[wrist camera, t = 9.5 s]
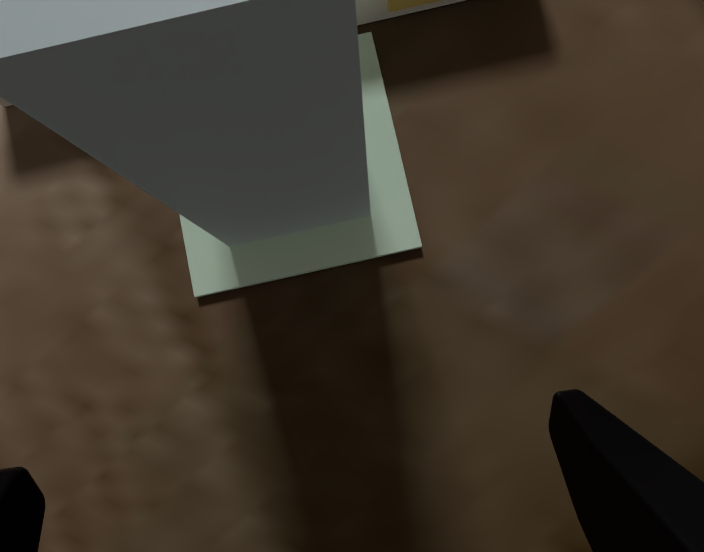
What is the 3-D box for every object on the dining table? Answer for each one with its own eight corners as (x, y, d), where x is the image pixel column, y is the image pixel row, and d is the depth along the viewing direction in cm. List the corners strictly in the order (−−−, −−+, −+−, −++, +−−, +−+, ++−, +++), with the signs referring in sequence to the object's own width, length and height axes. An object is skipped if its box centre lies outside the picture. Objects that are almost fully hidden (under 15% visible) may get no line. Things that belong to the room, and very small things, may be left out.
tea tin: (370, 215, 20) (353, -25, 7) (229, 246, 20) (-43, 68, 7) (339, 77, 21) (272, -375, 8) (203, 108, 21) (-91, -286, 8)
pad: (421, 247, 20) (421, 246, 20) (197, 297, 20) (194, 296, 20) (371, 35, 21) (371, 31, 21) (158, 85, 21) (155, 81, 21)
